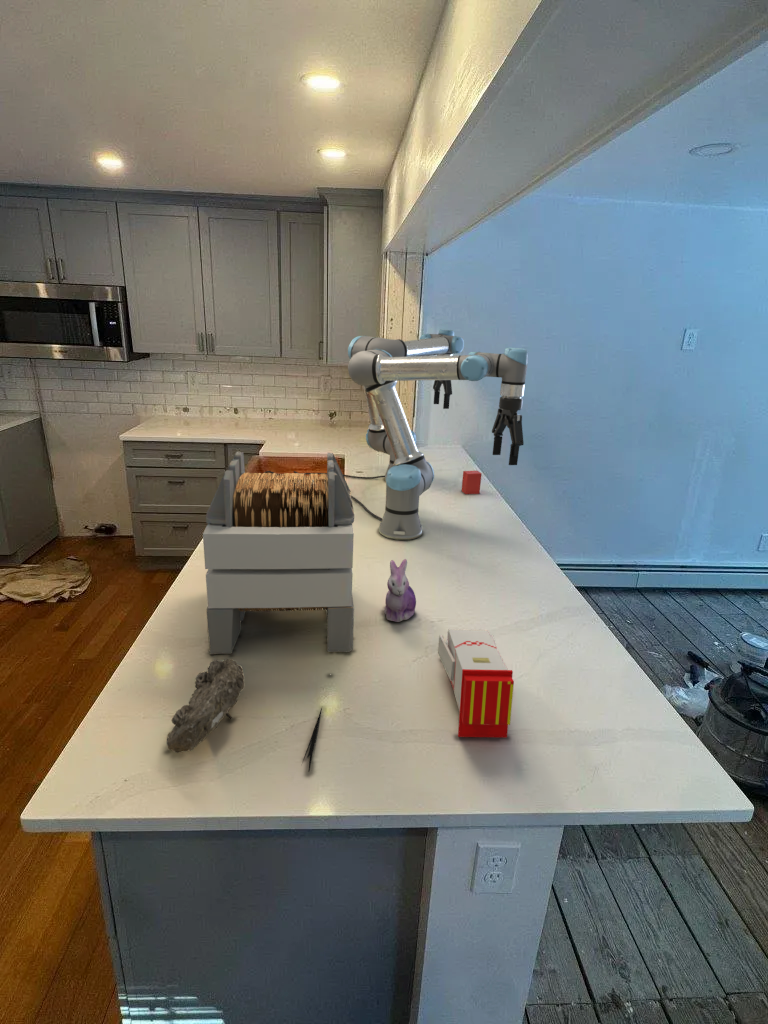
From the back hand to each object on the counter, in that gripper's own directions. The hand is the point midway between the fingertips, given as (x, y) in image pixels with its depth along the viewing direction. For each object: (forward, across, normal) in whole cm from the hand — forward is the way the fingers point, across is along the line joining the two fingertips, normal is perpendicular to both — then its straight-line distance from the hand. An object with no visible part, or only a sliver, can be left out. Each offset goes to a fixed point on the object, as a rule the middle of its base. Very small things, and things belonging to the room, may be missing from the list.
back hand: (441, 406), depth 285 cm
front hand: (+2, -97, +14) cm, 98 cm away
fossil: (+29, -174, +111) cm, 208 cm away
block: (+29, -49, +3) cm, 58 cm away
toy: (+29, -178, +60) cm, 190 cm away
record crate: (+29, -140, +94) cm, 171 cm away
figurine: (+29, -144, +65) cm, 161 cm away
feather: (+29, -179, +91) cm, 203 cm away
